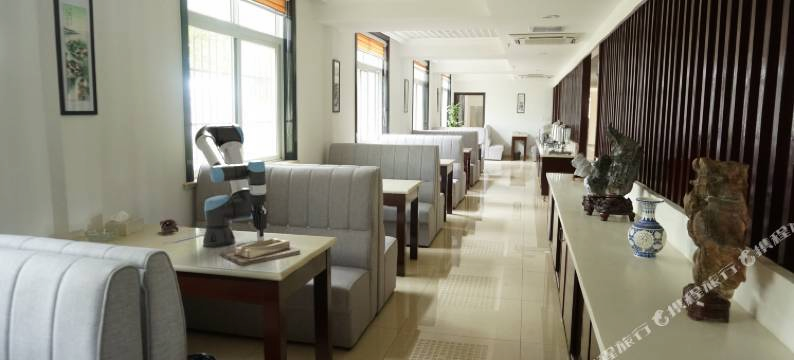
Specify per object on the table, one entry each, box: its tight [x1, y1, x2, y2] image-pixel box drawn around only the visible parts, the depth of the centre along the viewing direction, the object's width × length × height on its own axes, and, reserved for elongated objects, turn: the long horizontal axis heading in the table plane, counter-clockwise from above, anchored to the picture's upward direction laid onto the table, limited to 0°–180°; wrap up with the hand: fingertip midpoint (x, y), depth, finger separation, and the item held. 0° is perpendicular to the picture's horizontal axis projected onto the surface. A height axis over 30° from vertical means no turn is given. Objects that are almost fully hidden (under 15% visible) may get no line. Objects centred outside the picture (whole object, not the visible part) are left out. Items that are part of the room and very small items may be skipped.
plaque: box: [169, 232, 205, 244], centre depth 286 cm, size 33×10×1 cm, turn 149°
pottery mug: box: [159, 218, 179, 235], centre depth 300 cm, size 12×10×8 cm
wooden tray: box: [233, 237, 291, 258], centre depth 250 cm, size 12×22×3 cm, turn 142°
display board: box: [218, 246, 301, 267], centre depth 251 cm, size 24×28×2 cm
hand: (260, 242), depth 260 cm, fingers closed
